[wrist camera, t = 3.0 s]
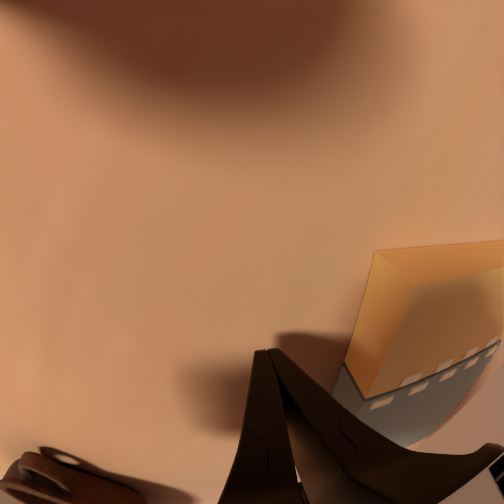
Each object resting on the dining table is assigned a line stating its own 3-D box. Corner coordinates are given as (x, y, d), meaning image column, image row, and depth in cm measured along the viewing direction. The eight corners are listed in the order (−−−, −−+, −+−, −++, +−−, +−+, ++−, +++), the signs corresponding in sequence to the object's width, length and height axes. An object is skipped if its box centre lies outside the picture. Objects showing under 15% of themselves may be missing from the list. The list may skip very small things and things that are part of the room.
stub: (482, 316, 15) (504, 338, 13) (343, 360, 13) (366, 401, 11) (513, 239, 12) (541, 258, 10) (375, 250, 10) (415, 288, 8)
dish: (147, 458, 15) (149, 518, 11) (168, 511, 25) (171, 541, 21) (-35, 409, 11) (-49, 453, 7) (50, 490, 21) (47, 518, 16)
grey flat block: (420, 415, 21) (432, 434, 18) (304, 456, 19) (313, 482, 16) (481, 319, 15) (502, 341, 13) (342, 364, 13) (364, 404, 11)
